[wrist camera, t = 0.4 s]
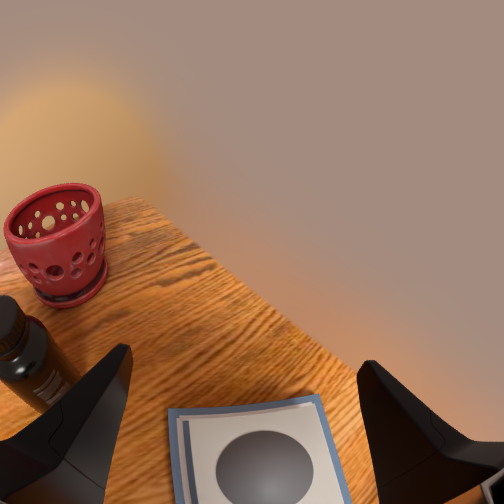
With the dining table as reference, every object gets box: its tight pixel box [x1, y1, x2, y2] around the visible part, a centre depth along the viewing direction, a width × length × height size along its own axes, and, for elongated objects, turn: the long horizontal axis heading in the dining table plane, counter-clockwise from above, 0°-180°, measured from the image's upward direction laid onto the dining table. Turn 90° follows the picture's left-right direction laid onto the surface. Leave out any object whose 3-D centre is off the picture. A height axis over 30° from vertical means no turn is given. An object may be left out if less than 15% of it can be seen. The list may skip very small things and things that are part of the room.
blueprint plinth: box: [168, 393, 352, 504], centre depth 16 cm, size 14×14×4 cm
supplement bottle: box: [0, 295, 81, 414], centre depth 16 cm, size 7×7×12 cm
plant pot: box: [4, 183, 108, 308], centre depth 28 cm, size 13×13×12 cm
